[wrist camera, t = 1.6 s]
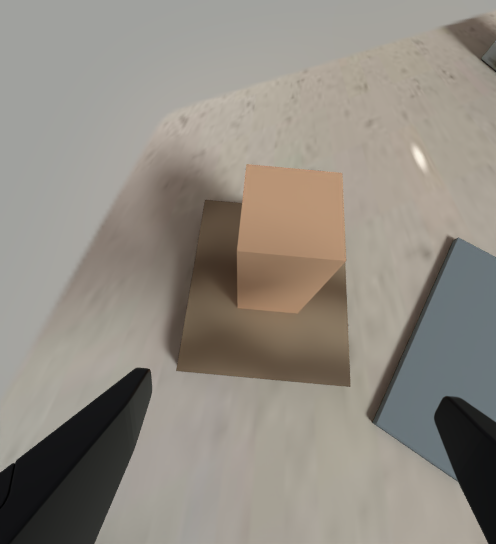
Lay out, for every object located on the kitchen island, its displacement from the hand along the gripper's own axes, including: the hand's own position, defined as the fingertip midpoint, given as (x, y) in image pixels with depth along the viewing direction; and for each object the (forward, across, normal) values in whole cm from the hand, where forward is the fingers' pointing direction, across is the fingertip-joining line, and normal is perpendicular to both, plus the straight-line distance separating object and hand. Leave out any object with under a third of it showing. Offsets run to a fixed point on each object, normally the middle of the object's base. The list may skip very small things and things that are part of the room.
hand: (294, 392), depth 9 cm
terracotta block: (+13, 0, +3) cm, 13 cm away
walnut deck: (+14, 0, +4) cm, 15 cm away
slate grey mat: (+11, -18, +7) cm, 22 cm away
